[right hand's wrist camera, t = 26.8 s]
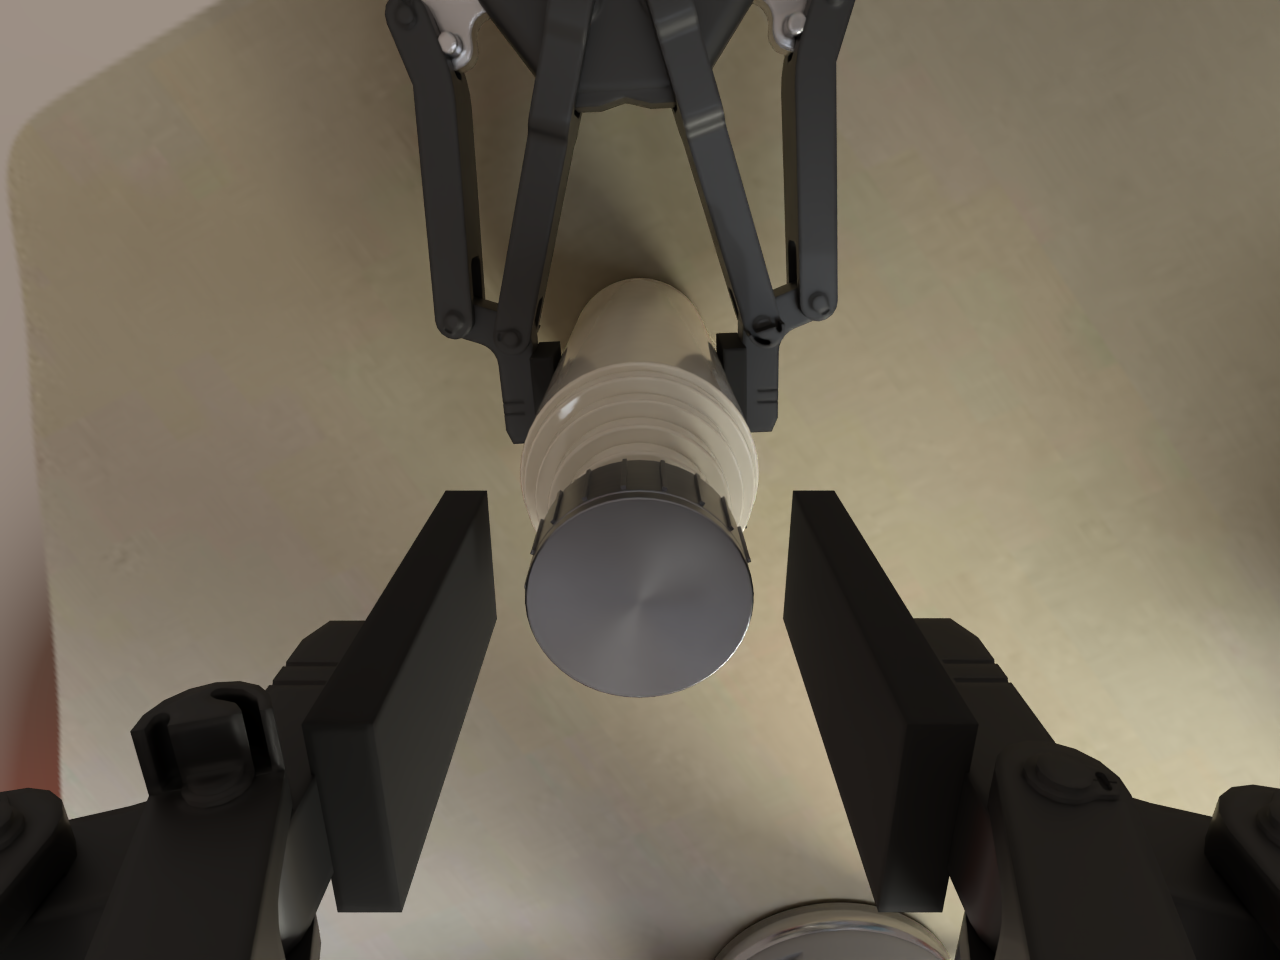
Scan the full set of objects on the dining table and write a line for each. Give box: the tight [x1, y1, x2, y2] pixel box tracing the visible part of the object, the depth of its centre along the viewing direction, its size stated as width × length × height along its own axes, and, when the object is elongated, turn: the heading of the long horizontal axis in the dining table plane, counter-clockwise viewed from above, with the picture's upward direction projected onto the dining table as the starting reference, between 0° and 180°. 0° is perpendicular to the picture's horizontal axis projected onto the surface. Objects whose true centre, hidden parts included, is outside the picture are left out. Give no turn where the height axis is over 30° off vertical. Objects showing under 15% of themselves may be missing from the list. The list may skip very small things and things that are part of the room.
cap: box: [525, 459, 754, 697], centre depth 14 cm, size 4×4×2 cm
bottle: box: [520, 278, 759, 533], centre depth 23 cm, size 6×6×21 cm
